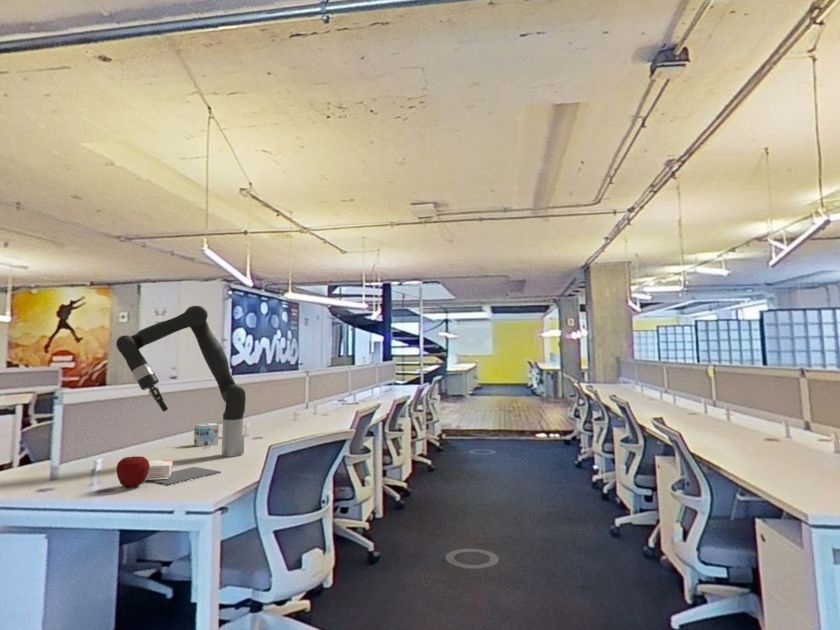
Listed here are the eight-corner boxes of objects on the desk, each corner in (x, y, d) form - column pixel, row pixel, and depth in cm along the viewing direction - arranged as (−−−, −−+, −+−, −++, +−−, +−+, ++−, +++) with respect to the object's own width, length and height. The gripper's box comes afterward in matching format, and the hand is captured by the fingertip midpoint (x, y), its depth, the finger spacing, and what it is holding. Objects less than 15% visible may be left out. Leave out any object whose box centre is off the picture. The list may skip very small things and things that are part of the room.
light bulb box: (199, 447, 274) (199, 425, 275) (193, 445, 279) (194, 424, 280) (218, 444, 282) (219, 424, 283) (212, 442, 287) (213, 422, 288)
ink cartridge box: (173, 459, 218) (169, 466, 205) (172, 471, 218) (168, 479, 204) (149, 460, 216) (144, 468, 202) (149, 472, 215) (143, 481, 201)
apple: (126, 492, 188) (127, 459, 189) (108, 488, 193) (110, 455, 194) (154, 485, 198) (156, 453, 199) (137, 481, 203) (138, 450, 204)
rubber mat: (194, 468, 227) (194, 466, 227) (220, 472, 219) (220, 471, 219) (141, 480, 206) (141, 478, 206) (169, 485, 198) (169, 484, 198)
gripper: (153, 369, 228) (174, 404, 228) (154, 375, 240) (173, 407, 239) (135, 378, 225) (157, 413, 224) (137, 383, 236) (157, 416, 236)
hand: (165, 410), depth 232 cm, fingers closed
